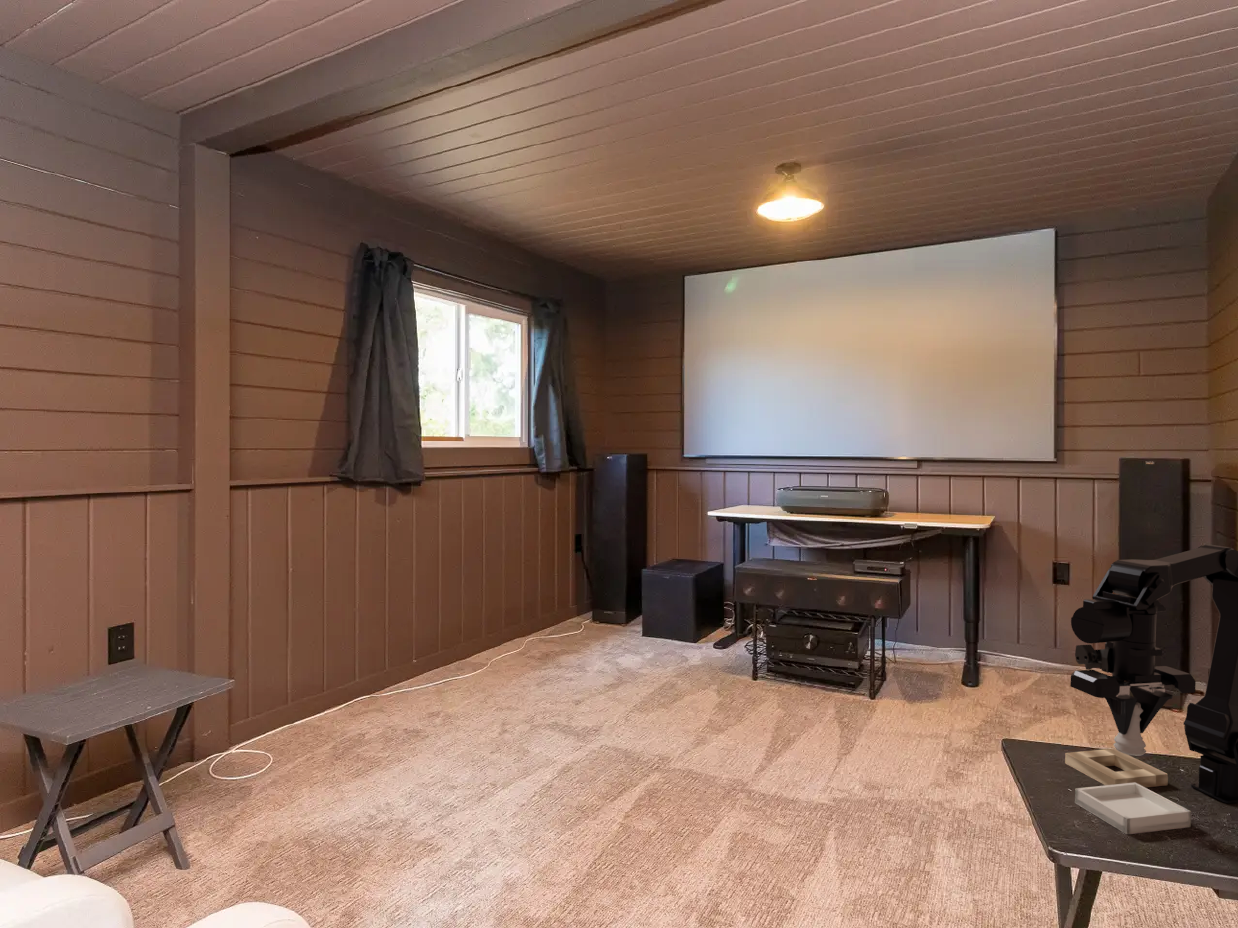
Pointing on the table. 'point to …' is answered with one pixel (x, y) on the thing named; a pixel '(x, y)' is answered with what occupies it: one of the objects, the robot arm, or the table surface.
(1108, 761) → the socket block
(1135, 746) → the rook chess piece
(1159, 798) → the tray
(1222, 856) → the table surface
